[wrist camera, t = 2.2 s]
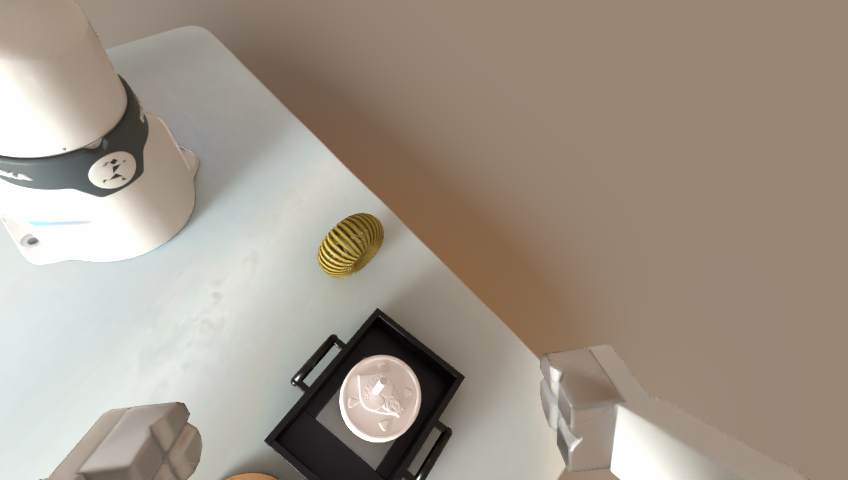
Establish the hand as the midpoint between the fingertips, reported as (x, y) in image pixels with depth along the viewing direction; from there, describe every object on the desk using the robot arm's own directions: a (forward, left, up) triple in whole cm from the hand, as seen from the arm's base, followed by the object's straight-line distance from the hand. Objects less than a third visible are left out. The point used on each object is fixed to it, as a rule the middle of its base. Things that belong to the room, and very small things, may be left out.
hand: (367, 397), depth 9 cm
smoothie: (+1, +4, -33) cm, 33 cm away
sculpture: (-11, +15, -33) cm, 38 cm away
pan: (+1, +4, -33) cm, 33 cm away
